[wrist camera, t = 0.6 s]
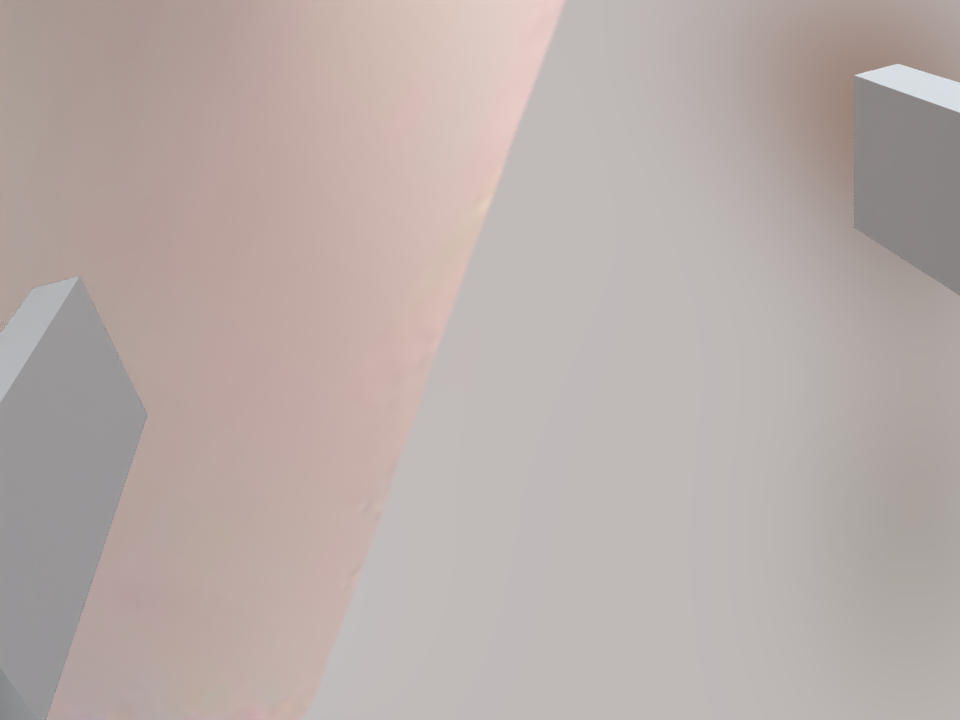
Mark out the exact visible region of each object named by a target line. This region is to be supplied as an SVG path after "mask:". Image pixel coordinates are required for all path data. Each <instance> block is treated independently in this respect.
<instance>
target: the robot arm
mask: <svg viewBox="0 0 960 720" xmlns="http://www.w3.org/2000/svg"><path fill="white" fill-rule="evenodd" d="M854 228H855V229H857V230H858V231H860V232H862V233H863V234H865V235H866V236H868V237H869V238H871V239H872V240H874V241H876V242H877V243H879V244H880V245H882V246H883V247H885V248H886V249H888V250H890V251H891V252H893V253H894V254H896V255H897V256H899V257H901V258H902V259H904V260H905V261H907V262H908V263H910V264H911V265H913V266H914V267H916V268H918V269H919V270H921V271H922V272H924V273H925V274H927V275H929V276H930V277H932V278H933V279H935V280H936V281H938V282H940V283H941V284H943V285H944V286H946V287H948V288H949V289H950V290H952V291H953V292H955V293H957V294H958V295H960V83H958V82H955V81H952V80H948V79H945V78H942V77H939V76H936V75H932V74H929V73H926V72H923V71H920V70H916V69H913V68H910V67H907V66H903V65H900V64H896V65H892V66H888V67H884V68H880V69H877V70H872V71H868V72H865V73H861V74H857V75H854ZM146 418H147V413H146V411H145V409H144V407H143V405H142V403H141V401H140V399H139V397H138V395H137V393H136V391H135V389H134V386H133V384H132V382H131V380H130V378H129V376H128V374H127V372H126V370H125V368H124V366H123V364H122V362H121V360H120V358H119V355H118V353H117V351H116V349H115V347H114V345H113V343H112V341H111V339H110V337H109V335H108V333H107V331H106V329H105V327H104V325H103V322H102V320H101V318H100V316H99V314H98V312H97V310H96V308H95V306H94V304H93V302H92V300H91V298H90V296H89V294H88V292H87V289H86V287H85V285H84V283H83V281H82V279H81V277H80V276H77V277H73V278H70V279H66V280H62V281H58V282H54V283H50V284H46V285H43V286H39V287H35V288H33V289H32V290H31V292H30V293H29V294H28V296H27V297H26V299H25V300H24V301H23V303H22V304H21V306H20V307H19V308H18V310H17V311H16V312H15V314H14V315H13V317H12V318H11V319H10V321H9V322H8V323H7V325H6V326H5V328H4V329H3V330H2V332H1V333H0V720H46V717H47V714H48V711H49V708H50V705H51V702H52V699H53V696H54V693H55V690H56V687H57V684H58V681H59V678H60V675H61V672H62V669H63V666H64V663H65V660H66V657H67V654H68V651H69V649H70V646H71V643H72V640H73V637H74V634H75V631H76V628H77V625H78V622H79V619H80V616H81V613H82V610H83V607H84V604H85V601H86V598H87V595H88V592H89V589H90V586H91V583H92V580H93V577H94V574H95V571H96V568H97V565H98V562H99V559H100V556H101V553H102V550H103V547H104V544H105V541H106V538H107V535H108V532H109V529H110V526H111V523H112V520H113V517H114V514H115V511H116V508H117V505H118V502H119V499H120V496H121V493H122V490H123V487H124V484H125V481H126V478H127V475H128V472H129V469H130V466H131V463H132V460H133V457H134V454H135V451H136V448H137V445H138V442H139V439H140V436H141V433H142V430H143V427H144V424H145V421H146Z"/></svg>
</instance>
